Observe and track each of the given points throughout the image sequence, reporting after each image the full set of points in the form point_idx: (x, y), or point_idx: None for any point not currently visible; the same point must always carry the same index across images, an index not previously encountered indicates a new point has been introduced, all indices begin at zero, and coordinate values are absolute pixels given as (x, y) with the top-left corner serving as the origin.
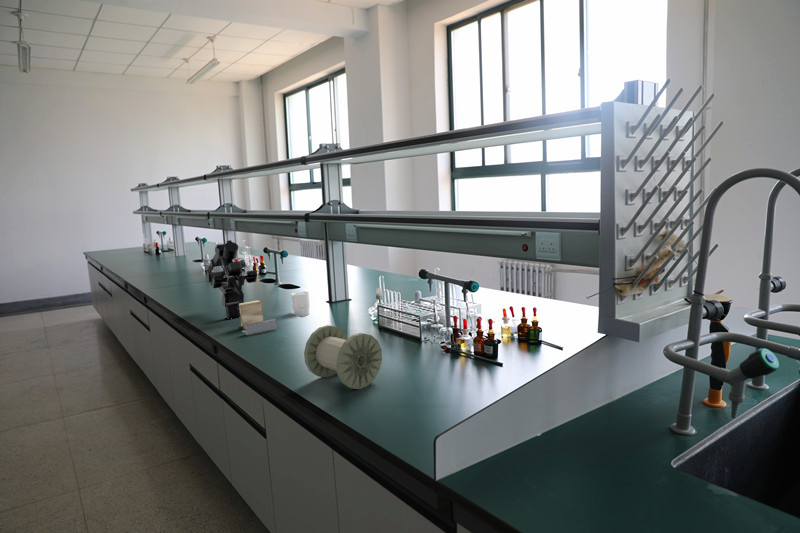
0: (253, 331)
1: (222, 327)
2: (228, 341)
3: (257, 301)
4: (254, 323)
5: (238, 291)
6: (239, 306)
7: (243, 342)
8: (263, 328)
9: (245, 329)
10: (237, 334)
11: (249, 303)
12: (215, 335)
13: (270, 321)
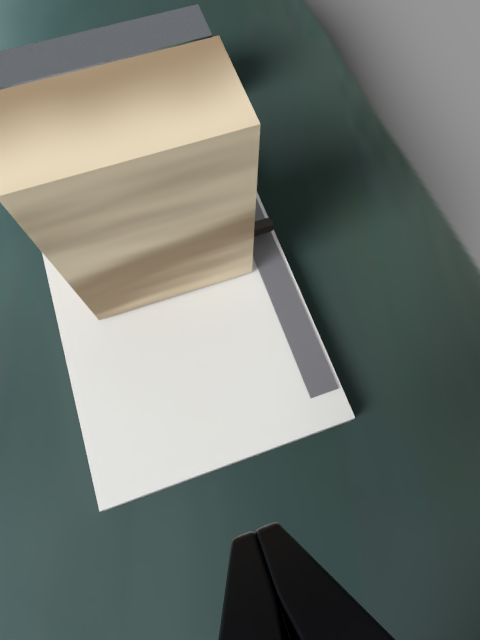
0: None
1: (433, 463)
2: (314, 75)
3: (17, 134)
4: (141, 35)
5: (311, 559)
6: (255, 142)
7: (227, 29)
8: None
9: None
10: (275, 190)
11: (127, 76)
12: (430, 232)
13: (24, 47)
